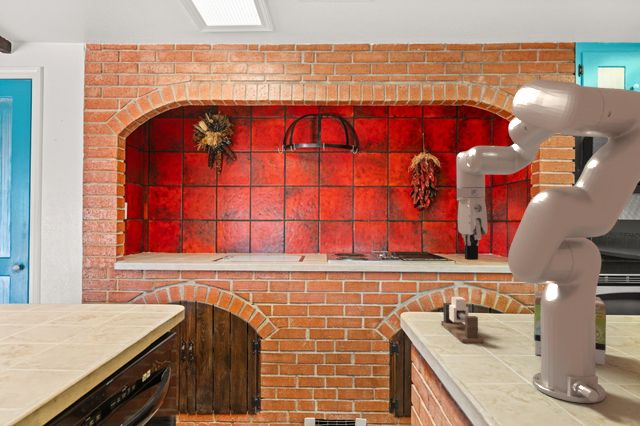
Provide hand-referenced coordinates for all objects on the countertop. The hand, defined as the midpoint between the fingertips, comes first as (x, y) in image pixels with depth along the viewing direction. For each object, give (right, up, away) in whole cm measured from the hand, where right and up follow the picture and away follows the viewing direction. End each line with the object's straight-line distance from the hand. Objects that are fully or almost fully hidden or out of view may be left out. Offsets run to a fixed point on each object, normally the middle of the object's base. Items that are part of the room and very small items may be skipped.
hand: (471, 259), depth 113 cm
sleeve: (-1, -20, +9) cm, 22 cm away
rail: (-1, -23, +7) cm, 24 cm away
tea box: (+20, -23, -11) cm, 33 cm away
